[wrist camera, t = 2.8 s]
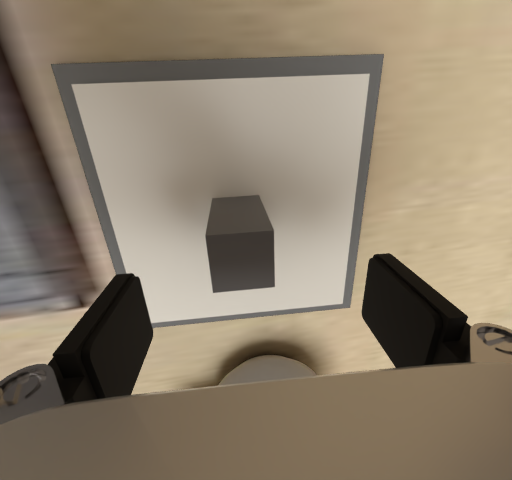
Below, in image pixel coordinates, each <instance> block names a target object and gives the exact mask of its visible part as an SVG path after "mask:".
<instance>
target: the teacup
mask: <svg viewBox="0 0 512 480" xmlns="http://www.w3.org/2000/svg"><path fill="white" fill-rule="evenodd" d="M307 376H317V375H316V374H315V372H314V371H313V370H312V369H310V368H309V367H308V366H306V365H305V364H303V363H301V362H299V361H297V360H294V359H290V358H286V357H283V356H278V355H263V356H258V357H254V358H251V359H249V360H247V361H245V362H243V363H241V364H240V365H239V366H237V367H236V368H234V369H233V370H232V371H230V372H229V373H228V374H227V375H226V376H225V377H224V378H223V379H222V381H221V382H220V383H219V385H228V384H237V383H247V382H257V381H267V380H277V379H287V378H297V377H307ZM219 385H218V386H219Z"/></svg>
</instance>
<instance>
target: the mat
mask: <svg viewBox="0 0 512 480" xmlns="http://www.w3.org/2000/svg"><path fill="white" fill-rule="evenodd" d="M383 58H384V54H371V55H338V56H304V57H271V58H238V59H205V60H172V61H138V62H105V63H72V64H51V66H52V69H53V73H54V76H55V79H56V82H57V86H58V89H59V92H60V95H61V98H62V102H63V105H64V108H65V111H66V114H67V118H68V121H69V124H70V127H71V131H72V134H73V137H74V140H75V143H76V147H77V150H78V153H79V156H80V160H81V163H82V166H83V169H84V172H85V176H86V179H87V182H88V185H89V189H90V192H91V195H92V198H93V201H94V205H95V208H96V211H97V214H98V218H99V221H100V224H101V227H102V230H103V234H104V237H105V240H106V243H107V247H108V250H109V253H110V256H111V259H112V263H113V266H114V269H115V272H116V275H117V274H126V270H125V267H124V264H123V260H122V257H121V253H120V250H119V246H118V243H117V240H116V236H115V233H114V229H113V226H112V222H111V219H110V215H109V212H108V209H107V205H106V202H105V198H104V195H103V191H102V188H101V185H100V181H99V178H98V174H97V171H96V167H95V164H94V160H93V157H92V154H91V150H90V147H89V143H88V140H87V136H86V133H85V130H84V126H83V123H82V119H81V116H80V112H79V109H78V105H77V102H76V99H75V95H74V92H73V88H72V85H71V84H94V83H122V82H150V81H178V80H206V79H234V78H262V77H290V76H318V75H346V74H370V76H369V85H368V93H367V101H366V110H365V118H364V127H363V135H362V144H361V152H360V161H359V169H358V178H357V186H356V195H355V203H354V212H353V220H352V229H351V237H350V246H349V254H348V263H347V271H346V280H345V288H344V297H343V304H335V305H326V306H316V307H306V308H296V309H286V310H276V311H266V312H256V313H246V314H237V315H227V316H217V317H207V318H197V319H187V320H177V321H167V322H158V323H151V324H152V328H156V327H166V326H176V325H185V324H195V323H205V322H215V321H224V320H234V319H244V318H254V317H263V316H273V315H283V314H293V313H303V312H312V311H322V310H332V309H342V308H350V305H351V297H352V290H353V282H354V275H355V267H356V260H357V252H358V245H359V237H360V230H361V222H362V215H363V207H364V200H365V192H366V185H367V177H368V170H369V162H370V155H371V148H372V140H373V133H374V125H375V118H376V110H377V103H378V95H379V88H380V80H381V73H382V65H383Z"/></svg>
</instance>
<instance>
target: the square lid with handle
mask: <svg viewBox="0 0 512 480" xmlns="http://www.w3.org/2000/svg"><path fill="white" fill-rule="evenodd" d="M369 76H370V74H346V75H318V76H290V77H262V78H234V79H206V80H178V81H150V82H122V83H94V84H71V85H72V88H73V92H74V95H75V99H76V102H77V105H78V109H79V112H80V116H81V119H82V123H83V126H84V130H85V133H86V136H87V140H88V143H89V147H90V150H91V154H92V157H93V160H94V164H95V167H96V171H97V174H98V178H99V181H100V185H101V188H102V191H103V195H104V198H105V202H106V205H107V209H108V212H109V215H110V219H111V222H112V226H113V229H114V233H115V236H116V240H117V243H118V246H119V250H120V253H121V257H122V260H123V264H124V267H125V270H126V274H127V273H133V274H134V275H135V276H138V277H139V278H140V282H141V285H142V289H143V293H144V297H145V301H146V305H147V309H148V313H149V317H150V320H151V323H158V322H167V321H177V320H187V319H197V318H207V317H217V316H227V315H237V314H246V313H256V312H266V311H276V310H286V309H296V308H306V307H316V306H326V305H335V304H343V297H344V288H345V280H346V271H347V263H348V254H349V246H350V237H351V229H352V220H353V212H354V203H355V195H356V186H357V178H358V169H359V161H360V152H361V144H362V135H363V127H364V118H365V110H366V101H367V93H368V85H369Z"/></svg>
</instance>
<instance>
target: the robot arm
mask: <svg viewBox="0 0 512 480" xmlns="http://www.w3.org/2000/svg"><path fill="white" fill-rule="evenodd" d="M362 317H363V319H364V321H365V322H366V324H367V325H368V327H369V328H370V330H371V331H372V333H373V334H374V336H375V337H376V339H377V340H378V342H379V343H380V345H381V346H382V348H383V349H384V351H385V352H386V354H387V355H388V357H389V358H390V360H391V361H392V362H393V364H394V365H395V367H396V368H390V369H379V370H369V371H358V372H348V373H337V374H327V375H317V376H307V377H297V378H287V379H277V380H267V381H257V382H247V383H237V384H228V385H219V386H209V387H200V388H190V389H181V390H172V391H162V392H153V393H144V394H135V395H131V393H132V390H133V388H134V385H135V383H136V380H137V377H138V375H139V372H140V370H141V367H142V364H143V362H144V359H145V357H146V354H147V351H148V349H149V346H150V344H151V341H152V338H153V328H152V324H151V320H150V317H149V313H148V309H147V305H146V301H145V297H144V293H143V289H142V285H141V282H140V278H139V277H138V276H135V275H134V274H133V273H127V274H117V275H116V276H115V277H114V278H113V279H112V280H111V282H110V283H109V284H108V286H107V287H106V288H105V289H104V291H103V292H102V293H101V294H100V296H99V297H98V298H97V299H96V301H95V302H94V303H93V304H92V306H91V307H90V308H89V309H88V311H87V312H86V313H85V314H84V316H83V317H82V318H81V319H80V321H79V322H78V323H77V325H76V326H75V327H74V328H73V330H72V331H71V332H70V333H69V335H68V336H67V337H66V338H65V340H64V341H63V342H62V343H61V345H60V346H59V347H58V348H57V350H56V351H55V352H54V353H53V358H52V360H51V361H50V362H49V364H48V365H46V364H36V365H32V366H28V367H25V368H23V369H20V370H18V371H16V372H14V373H12V374H11V375H9V376H7V377H6V378H4V379H3V380H2V381H0V480H512V330H510V329H508V328H505V327H502V326H499V325H495V324H490V323H478V324H474V325H473V326H470V325H468V324H467V323H466V321H467V318H468V316H467V315H465V314H464V313H463V312H462V311H460V310H459V309H458V308H457V307H456V306H454V305H453V304H452V303H451V302H449V301H448V300H447V299H446V298H444V297H443V296H442V295H441V294H440V293H438V292H437V291H436V290H435V289H433V288H432V287H431V286H430V285H428V284H427V283H426V282H425V281H423V280H422V279H421V278H420V277H419V276H417V275H416V274H415V273H414V272H412V271H411V270H410V269H409V268H407V267H406V266H405V265H404V264H402V263H401V262H400V261H399V260H398V259H396V258H395V257H394V256H393V255H391V254H390V253H388V254H375V255H374V256H373V258H371V259H370V260H369V264H368V271H367V278H366V285H365V292H364V299H363V306H362Z"/></svg>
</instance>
